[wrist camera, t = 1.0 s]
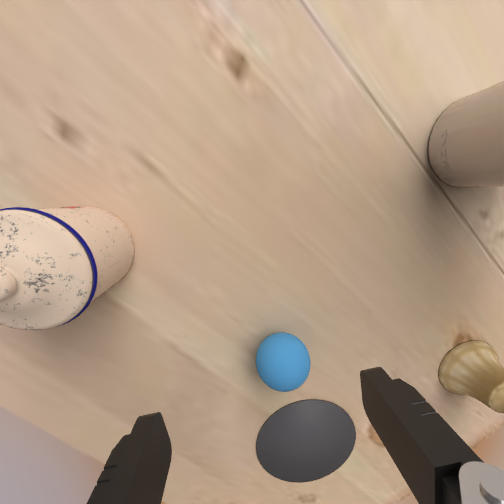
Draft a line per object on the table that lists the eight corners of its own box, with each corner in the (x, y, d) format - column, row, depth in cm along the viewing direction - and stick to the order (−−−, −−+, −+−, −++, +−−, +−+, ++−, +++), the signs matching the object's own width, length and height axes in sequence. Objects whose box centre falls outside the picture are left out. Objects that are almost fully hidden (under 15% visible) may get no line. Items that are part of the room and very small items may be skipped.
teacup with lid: (85, 184, 25) (-37, 174, 13) (156, 248, 27) (101, 287, 15) (9, 265, 26) (-164, 321, 14) (82, 321, 28) (-20, 408, 16)
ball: (295, 316, 30) (311, 346, 24) (306, 357, 31) (323, 395, 25) (247, 331, 30) (252, 364, 24) (260, 371, 31) (267, 412, 25)
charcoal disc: (345, 386, 33) (345, 387, 33) (362, 463, 36) (363, 464, 36) (243, 418, 33) (243, 419, 32) (271, 492, 36) (271, 494, 36)
